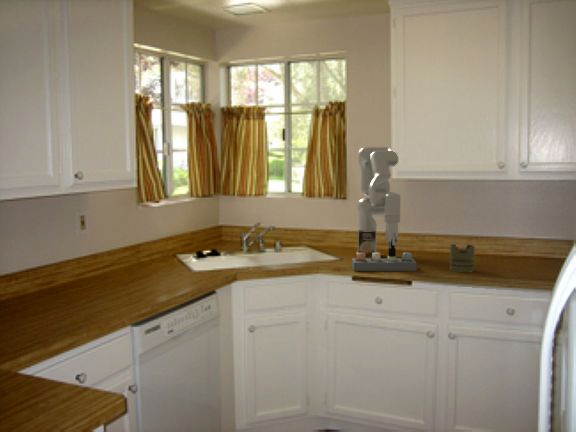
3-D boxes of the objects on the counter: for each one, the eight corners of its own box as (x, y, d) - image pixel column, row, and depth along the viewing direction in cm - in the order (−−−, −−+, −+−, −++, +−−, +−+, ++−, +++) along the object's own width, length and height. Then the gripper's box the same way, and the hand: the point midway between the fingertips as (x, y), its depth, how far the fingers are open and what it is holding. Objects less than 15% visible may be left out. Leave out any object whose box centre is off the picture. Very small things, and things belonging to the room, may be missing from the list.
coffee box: (357, 262, 323) (357, 231, 321) (357, 260, 329) (357, 229, 327) (375, 262, 322) (375, 231, 320) (375, 260, 328) (375, 230, 326)
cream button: (371, 261, 307) (371, 252, 307) (379, 261, 307) (380, 252, 307) (372, 262, 303) (372, 253, 303) (381, 262, 303) (381, 254, 303)
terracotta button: (356, 261, 307) (356, 252, 307) (364, 261, 307) (364, 252, 307) (357, 262, 303) (357, 254, 303) (365, 262, 303) (365, 254, 303)
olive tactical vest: (476, 247, 292) (451, 247, 294) (475, 273, 294) (450, 272, 295) (473, 244, 303) (449, 243, 305) (472, 268, 305) (448, 267, 306)
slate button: (402, 261, 307) (402, 252, 306) (410, 261, 307) (410, 252, 306) (403, 262, 303) (403, 253, 302) (411, 262, 303) (412, 253, 302)
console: (351, 266, 311) (351, 258, 311) (411, 266, 311) (411, 258, 311) (353, 270, 300) (354, 262, 299) (416, 270, 299) (416, 262, 299)
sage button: (386, 264, 307) (387, 255, 307) (395, 264, 307) (395, 255, 307) (388, 265, 303) (388, 257, 303) (396, 265, 303) (396, 257, 303)
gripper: (382, 217, 310) (382, 254, 312) (386, 220, 295) (386, 258, 297) (397, 217, 310) (397, 254, 312) (402, 220, 295) (402, 258, 297)
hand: (391, 256), depth 304 cm, fingers closed
